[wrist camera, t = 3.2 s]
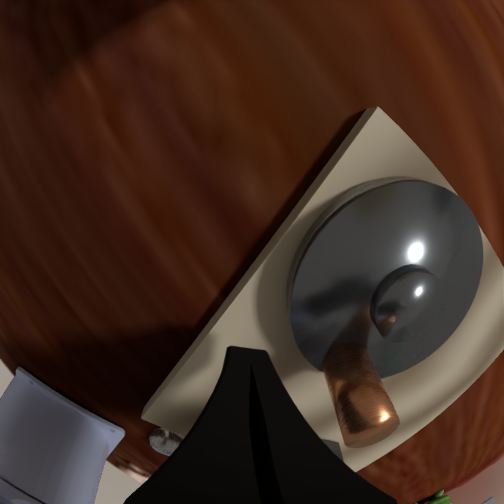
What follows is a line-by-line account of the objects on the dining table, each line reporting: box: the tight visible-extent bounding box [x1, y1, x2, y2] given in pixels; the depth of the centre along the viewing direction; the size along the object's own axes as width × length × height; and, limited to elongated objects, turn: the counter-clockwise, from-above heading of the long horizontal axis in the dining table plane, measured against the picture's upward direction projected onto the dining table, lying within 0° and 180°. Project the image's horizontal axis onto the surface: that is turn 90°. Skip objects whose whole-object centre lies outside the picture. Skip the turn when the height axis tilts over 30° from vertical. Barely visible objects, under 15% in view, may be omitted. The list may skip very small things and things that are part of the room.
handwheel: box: [286, 176, 483, 448], centre depth 9 cm, size 9×9×5 cm
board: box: [141, 107, 504, 472], centre depth 14 cm, size 20×20×1 cm
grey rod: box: [149, 428, 344, 462], centre depth 13 cm, size 12×3×4 cm, turn 56°
